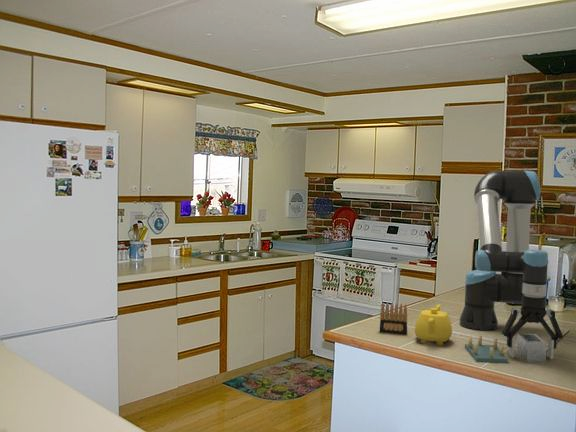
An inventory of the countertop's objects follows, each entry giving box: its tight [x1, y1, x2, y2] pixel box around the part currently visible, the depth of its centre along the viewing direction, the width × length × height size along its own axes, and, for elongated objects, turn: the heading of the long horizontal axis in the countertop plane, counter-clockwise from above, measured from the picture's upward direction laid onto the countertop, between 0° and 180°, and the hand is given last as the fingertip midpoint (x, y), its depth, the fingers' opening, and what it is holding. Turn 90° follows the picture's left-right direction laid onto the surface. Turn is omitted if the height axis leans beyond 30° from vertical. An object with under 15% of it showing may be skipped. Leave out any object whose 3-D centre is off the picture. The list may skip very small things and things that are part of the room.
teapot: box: [414, 303, 453, 346], centre depth 203 cm, size 13×20×12 cm
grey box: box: [516, 332, 547, 364], centre depth 185 cm, size 11×6×7 cm, turn 173°
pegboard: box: [464, 334, 509, 364], centre depth 187 cm, size 15×10×5 cm
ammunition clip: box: [379, 301, 408, 336], centre depth 212 cm, size 11×2×12 cm, turn 74°
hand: (530, 357), depth 185 cm, fingers open, 12 cm apart
